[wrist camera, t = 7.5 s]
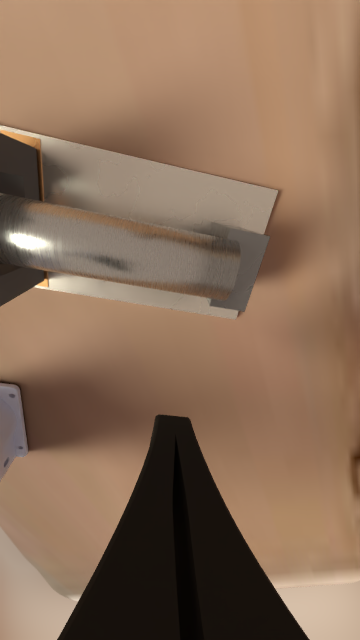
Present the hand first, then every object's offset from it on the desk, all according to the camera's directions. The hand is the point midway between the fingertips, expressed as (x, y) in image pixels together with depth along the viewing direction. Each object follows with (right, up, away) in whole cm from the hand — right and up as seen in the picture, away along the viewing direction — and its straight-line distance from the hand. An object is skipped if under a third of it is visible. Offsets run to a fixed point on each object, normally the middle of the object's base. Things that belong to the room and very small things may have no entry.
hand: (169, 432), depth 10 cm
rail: (-5, +11, +6) cm, 13 cm away
